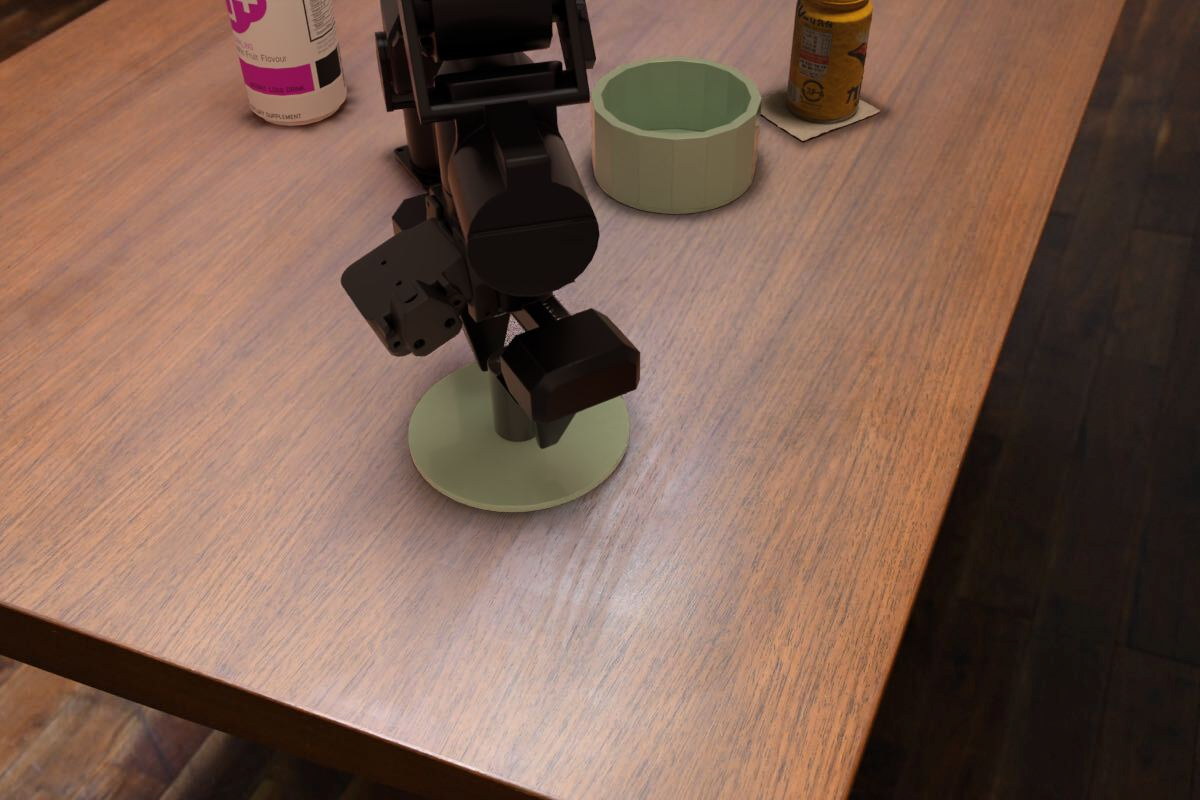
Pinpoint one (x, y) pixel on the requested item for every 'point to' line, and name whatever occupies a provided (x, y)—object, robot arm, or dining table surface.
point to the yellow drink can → (824, 69)
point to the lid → (509, 445)
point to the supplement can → (289, 58)
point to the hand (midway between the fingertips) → (517, 405)
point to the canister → (675, 134)
